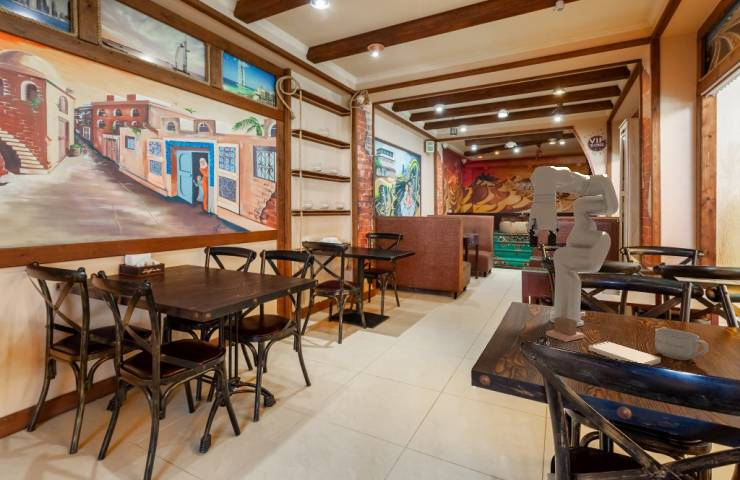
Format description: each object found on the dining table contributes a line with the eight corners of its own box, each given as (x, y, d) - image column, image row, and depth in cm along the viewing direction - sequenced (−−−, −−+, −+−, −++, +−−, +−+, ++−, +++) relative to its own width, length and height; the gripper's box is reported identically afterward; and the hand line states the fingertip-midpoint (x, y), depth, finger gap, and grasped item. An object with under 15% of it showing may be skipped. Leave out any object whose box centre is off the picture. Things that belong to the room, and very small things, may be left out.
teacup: (645, 351, 121) (646, 327, 120) (675, 349, 122) (677, 326, 121) (685, 368, 107) (686, 342, 106) (718, 367, 108) (720, 341, 107)
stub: (564, 331, 140) (564, 315, 140) (584, 337, 133) (584, 320, 133) (546, 335, 136) (546, 318, 136) (565, 341, 129) (566, 324, 128)
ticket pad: (607, 345, 126) (607, 340, 126) (660, 362, 111) (660, 357, 111) (588, 350, 121) (588, 345, 121) (641, 368, 107) (641, 363, 107)
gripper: (551, 201, 142) (549, 244, 143) (519, 200, 135) (518, 246, 136) (569, 200, 135) (567, 246, 136) (536, 199, 128) (534, 248, 129)
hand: (542, 246), depth 136 cm, fingers open, 9 cm apart
